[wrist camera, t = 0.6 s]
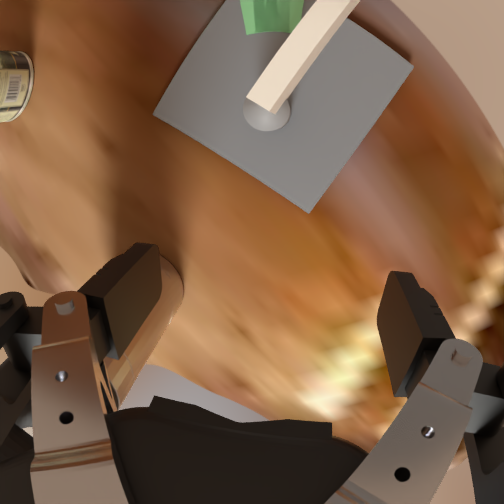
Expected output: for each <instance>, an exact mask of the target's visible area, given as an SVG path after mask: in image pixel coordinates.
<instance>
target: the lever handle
mask: <svg viewBox="0 0 504 504" xmlns="http://www.w3.org/2000/svg"><path fill="white" fill-rule="evenodd" d="M359 1H360V0H317V1H316V2H315V3H314V4H313V6H312V7H311V8H310V9H309V11H308V12H307V13H306V14H305V16H304V17H303V18H302V20H301V21H300V22H299V23H298V25H297V26H296V27H295V29H294V30H293V31H292V33H291V34H290V35H289V37H288V38H287V39H286V41H285V42H284V43H283V45H282V46H281V48H280V49H279V50H278V52H277V53H276V54H275V56H274V57H273V59H272V60H271V61H270V63H269V64H268V66H267V67H266V69H265V70H264V71H263V73H262V74H261V76H260V77H259V79H258V80H257V82H256V83H255V84H254V86H253V87H252V89H251V90H250V92H249V93H248V95H247V96H246V99H245V101H244V104H243V114H244V117H245V119H246V121H247V122H248V123H249V124H250V125H251V126H252V127H253V128H255V129H257V130H261V131H272V130H277V129H280V128H282V127H284V126H285V125H286V124H287V123H288V121H289V120H290V116H291V109H290V106H289V103H288V100H287V99H288V97H289V96H290V94H291V93H292V91H293V90H294V89H295V87H296V86H297V84H298V83H299V82H300V80H301V79H302V77H303V76H304V75H305V73H306V72H307V70H308V69H309V68H310V66H311V65H312V63H313V62H314V61H315V59H316V58H317V57H318V55H319V54H320V52H321V51H322V50H323V48H324V47H325V46H326V44H327V43H328V42H329V40H330V39H331V38H332V36H333V35H334V34H335V32H336V31H337V30H338V28H339V27H340V26H341V25H342V23H343V22H344V21H345V19H346V18H347V17H348V15H349V14H350V13H351V12H352V10H353V9H354V8H355V6H356V5H357V4H358V3H359Z"/></svg>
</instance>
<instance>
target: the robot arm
mask: <svg viewBox="0 0 504 504" xmlns="http://www.w3.org/2000/svg"><path fill="white" fill-rule="evenodd" d="M183 292H184V290H183V284H182V281H181V278H180V276H179V274H178V272H177V271H176V269H175V268H174V267H173V265H172V264H171V263H170V262H169V261H167V260H166V259H165V258H164V257H162V256H160V254H159V248H158V246H157V245H155V244H146V243H135V244H134V245H133V246H132V247H131V248H130V249H128V250H127V251H126V252H125V253H124V254H121V255H119V256H117V257H115V258H113V259H111V260H110V261H109V262H107V263H106V264H105V265H104V266H103V268H102V269H100V270H99V271H98V272H97V273H96V275H93V276H92V277H91V278H90V279H89V280H88V281H87V282H86V283H85V284H84V285H83V286H82V287H81V288H80V289H79V290H78V291H77V292H76V291H66V292H61V293H58V294H56V295H54V296H52V297H51V298H49V299H48V300H47V301H46V302H45V304H44V306H43V307H27V305H26V302H25V299H24V296H23V295H22V294H21V293H19V292H7V293H4V294H1V295H0V349H1V348H2V347H3V348H4V349H5V352H6V354H7V356H8V358H7V359H6V360H5V361H4V362H3V363H2V364H1V365H0V504H429V503H430V501H431V500H432V498H433V496H434V494H435V493H436V491H437V489H438V487H439V485H440V484H441V482H442V480H443V478H444V476H445V474H446V472H447V470H448V468H449V466H450V464H451V462H452V460H453V458H454V455H455V453H456V451H457V449H458V447H459V444H460V442H461V440H462V437H463V436H464V440H465V445H466V450H467V454H468V459H469V464H470V469H471V474H472V481H473V487H474V494H475V501H476V504H504V362H503V364H502V365H501V367H500V366H496V365H492V364H488V363H484V362H483V359H482V356H481V354H480V352H479V351H478V350H477V349H476V348H475V347H474V346H473V345H471V344H470V343H468V342H466V341H464V340H460V339H456V338H455V336H454V334H453V332H452V330H451V328H450V326H449V324H448V323H447V321H446V319H445V317H444V316H443V313H442V311H441V309H440V308H438V307H439V306H438V304H437V302H436V300H435V299H434V297H433V296H432V295H431V294H430V293H429V292H428V291H426V290H425V289H424V288H420V286H419V284H418V282H417V281H416V279H415V277H414V275H413V274H412V273H408V272H399V271H391V272H390V273H389V275H388V278H387V282H386V285H385V289H384V292H383V296H382V299H381V302H380V306H379V309H378V314H377V327H378V331H379V335H380V339H381V342H382V346H383V350H384V355H385V359H386V363H387V367H388V371H389V376H390V380H391V385H392V390H393V394H394V397H407V399H408V400H407V402H406V403H405V405H404V406H403V408H402V409H401V411H400V412H399V414H398V415H397V417H396V418H395V420H394V421H393V422H392V424H391V425H390V427H389V428H388V429H387V431H386V432H385V433H384V435H383V436H382V438H381V439H380V440H379V442H378V443H377V444H376V445H375V447H374V448H373V449H372V451H371V452H370V453H367V452H366V451H365V450H363V449H362V448H360V447H359V446H357V445H355V444H353V443H351V442H349V441H347V440H345V439H342V438H339V437H336V436H332V423H330V422H314V421H301V420H290V419H285V420H274V421H262V422H246V423H239V422H235V421H232V420H230V419H227V418H225V417H222V416H220V415H217V414H215V413H213V412H210V411H208V410H206V409H203V408H201V407H199V406H196V405H193V404H188V403H184V402H179V401H175V400H170V399H166V398H162V397H158V396H154V397H153V400H152V402H151V404H150V406H149V407H135V408H129V409H123V410H119V409H120V407H121V405H122V404H123V402H124V400H125V398H126V396H127V395H128V393H129V391H130V390H131V387H132V386H133V384H134V382H135V380H136V379H137V377H138V375H139V374H140V372H141V370H142V368H143V367H144V365H145V363H146V362H147V360H148V358H149V357H150V355H151V353H152V351H153V350H154V348H155V346H156V345H157V343H158V341H159V340H160V338H161V336H162V335H163V333H164V331H165V330H166V328H167V326H168V325H169V323H170V322H171V320H172V318H173V317H174V315H175V313H176V312H177V310H178V308H179V307H180V305H181V303H182V300H183ZM26 427H33V437H32V436H30V435H29V434H28V433H26V432H25V431H24V430H23V429H22V428H26Z"/></svg>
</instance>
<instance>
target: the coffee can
mask: <svg viewBox="0 0 504 504" xmlns="http://www.w3.org/2000/svg"><path fill="white" fill-rule="evenodd" d="M33 80H34V69H33V65H32V61H31V59H30V57H29V56H28V55H27V54H26V53H24V52H21V51H17V52H15V51H0V122H9V121H12V120H14V119H16V118H17V117H18V116H19V115H20V114H21V113H22V112H23V110H24V108H25V107H26V105H27V103H28V101H29V98H30V95H31V92H32V87H33Z"/></svg>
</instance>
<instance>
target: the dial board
mask: <svg viewBox="0 0 504 504" xmlns="http://www.w3.org/2000/svg"><path fill="white" fill-rule="evenodd" d="M316 1H317V0H226V1H225V3H224V4H223V5H222V6H221V8H220V9H219V11H218V12H217V13H216V15H215V16H214V17H213V19H212V20H211V21H210V23H209V24H208V26H207V27H206V29H205V30H204V31H203V33H202V34H201V36H200V37H199V39H198V40H197V42H196V43H195V45H194V46H193V48H192V49H191V51H190V52H189V54H188V55H187V57H186V58H185V60H184V62H183V63H182V65H181V66H180V68H179V70H178V71H177V73H176V74H175V76H174V78H173V79H172V81H171V83H170V84H169V86H168V88H167V90H166V91H165V93H164V95H163V96H162V98H161V100H160V102H159V104H158V105H157V107H156V109H155V111H154V113H153V114H152V115H154V116H156V117H158V118H159V119H161V120H163V121H164V122H166V123H168V124H170V125H171V126H173V127H175V128H176V129H178V130H180V131H181V132H183V133H185V134H186V135H188V136H190V137H191V138H193V139H195V140H196V141H198V142H200V143H201V144H203V145H204V146H206V147H208V148H209V149H211V150H213V151H214V152H216V153H217V154H219V155H221V156H222V157H224V158H225V159H227V160H229V161H230V162H232V163H233V164H235V165H236V166H238V167H239V168H241V169H243V170H244V171H246V172H247V173H249V174H250V175H252V176H253V177H255V178H256V179H258V180H260V181H261V182H263V183H264V184H266V185H267V186H269V187H270V188H272V189H273V190H275V191H276V192H278V193H279V194H281V195H282V196H284V197H285V198H286V199H288V200H289V201H291V202H292V203H294V204H295V205H297V206H298V207H300V208H301V209H303V210H304V211H305V212H307V213H308V214H309V213H310V211H311V210H312V209H313V207H314V206H315V205H316V203H317V202H318V201H319V199H320V198H321V196H322V195H323V194H324V192H325V191H326V190H327V188H328V187H329V186H330V184H331V183H332V181H333V180H334V179H335V177H336V176H337V175H338V173H339V172H340V171H341V169H342V168H343V166H344V165H345V164H346V162H347V161H348V160H349V158H350V157H351V155H352V154H353V153H354V151H355V150H356V148H357V147H358V146H359V144H360V143H361V141H362V140H363V139H364V137H365V136H366V135H367V133H368V132H369V130H370V129H371V128H372V126H373V125H374V123H375V122H376V121H377V119H378V118H379V116H380V115H381V113H382V112H383V111H384V109H385V108H386V106H387V105H388V104H389V102H390V101H391V99H392V98H393V96H394V95H395V94H396V92H397V91H398V89H399V88H400V86H401V85H402V84H403V82H404V81H405V79H406V78H407V76H408V75H409V74H410V72H411V71H412V69H413V68H414V66H413V65H411V64H410V63H409V62H408V61H406V60H405V59H404V58H403V57H401V56H400V55H399V54H398V53H396V52H395V51H394V50H392V49H391V48H390V47H388V46H387V45H386V44H384V43H383V42H382V41H380V40H379V39H378V38H376V37H375V36H373V35H372V34H370V33H369V32H368V31H366V30H365V29H363V28H362V27H360V26H359V25H357V24H356V23H354V22H353V21H351V20H349V19H348V18H346V19H345V21H344V22H343V23H342V25H341V26H340V27H339V28H338V30H337V31H336V32H335V34H334V35H333V36H332V38H331V39H330V40H329V42H328V43H327V44H326V46H325V47H324V48H323V50H322V51H321V52H320V54H319V55H318V57H317V58H316V59H315V61H314V62H313V63H312V65H311V66H310V68H309V69H308V70H307V72H306V73H305V75H304V76H303V77H302V79H301V80H300V82H299V83H298V84H297V86H296V87H295V89H294V90H293V91H292V93H291V94H290V96H289V97H288V99H287V100H288V103H289V106H290V109H291V116H290V120H289V121H288V123H287V124H286V125H285V126H284V127H282V128H280V129H277V130H272V131H261V130H257V129H255V128H253V127H252V126H251V125H250V124H249V123H248V122H247V121H246V119H245V117H244V114H243V104H244V101H245V99H246V96H247V95H248V93H249V92H250V90H251V89H252V87H253V86H254V84H255V83H256V82H257V80H258V79H259V77H260V76H261V74H262V73H263V71H264V70H265V69H266V67H267V66H268V64H269V63H270V61H271V60H272V59H273V57H274V56H275V54H276V53H277V52H278V50H279V49H280V48H281V46H282V45H283V43H284V42H285V41H286V39H287V38H288V37H289V35H290V34H291V33H292V31H293V30H294V29H295V27H296V26H297V25H298V23H299V22H300V21H301V20H302V18H303V17H304V16H305V14H306V13H307V12H308V11H309V9H310V8H311V7H312V6H313V4H314V3H315V2H316Z"/></svg>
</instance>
